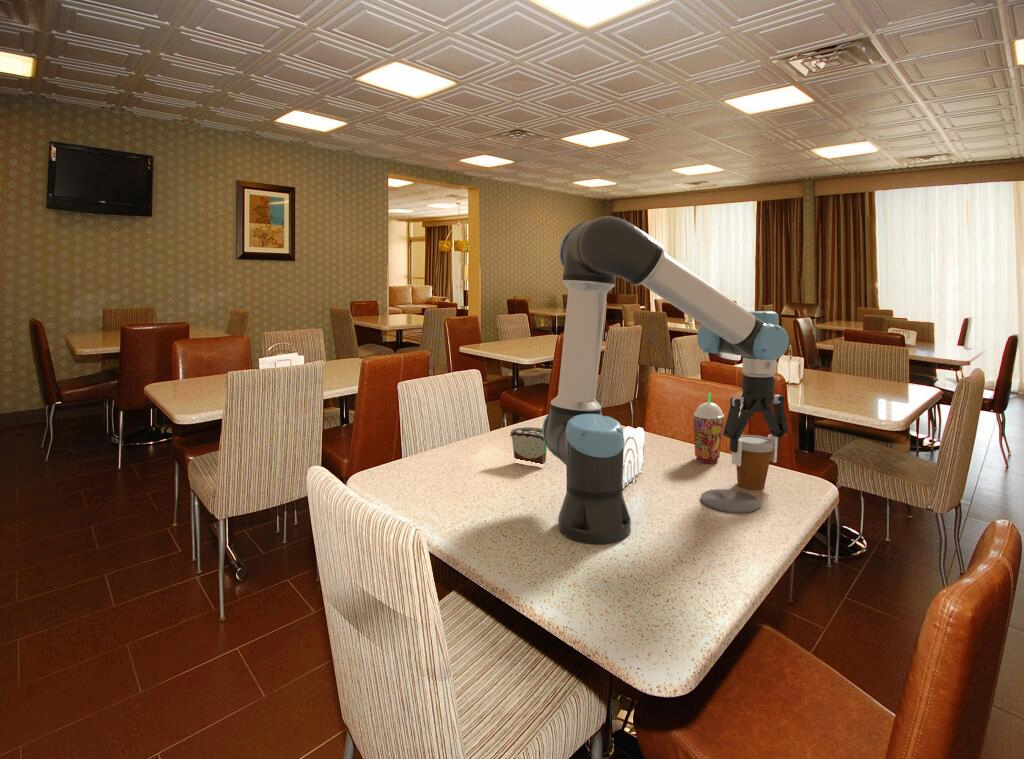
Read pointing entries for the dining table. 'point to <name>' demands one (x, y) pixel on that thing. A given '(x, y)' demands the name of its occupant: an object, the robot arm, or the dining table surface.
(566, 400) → the robot arm
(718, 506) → the coaster
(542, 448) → the food container
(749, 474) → the disposable coffee cup
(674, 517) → the dining table surface
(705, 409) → the smoothie
